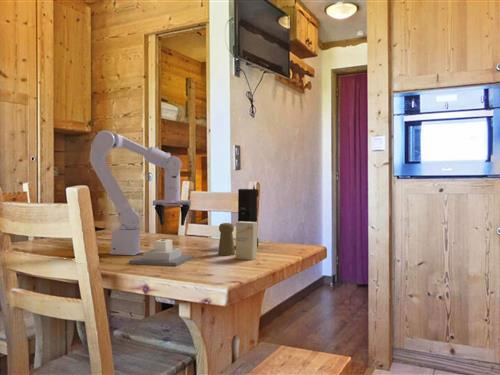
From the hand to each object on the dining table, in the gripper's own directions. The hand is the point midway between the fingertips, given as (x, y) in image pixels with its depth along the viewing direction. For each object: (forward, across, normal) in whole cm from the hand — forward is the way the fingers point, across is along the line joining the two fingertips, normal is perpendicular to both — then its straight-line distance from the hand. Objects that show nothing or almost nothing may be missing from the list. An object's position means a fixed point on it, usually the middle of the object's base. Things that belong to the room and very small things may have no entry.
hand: (172, 225), depth 159 cm
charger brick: (+8, +3, -20) cm, 22 cm away
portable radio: (+10, +26, +12) cm, 30 cm away
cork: (+10, +21, -7) cm, 24 cm away
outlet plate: (+9, +2, -21) cm, 23 cm away
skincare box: (+10, +29, -14) cm, 34 cm away
